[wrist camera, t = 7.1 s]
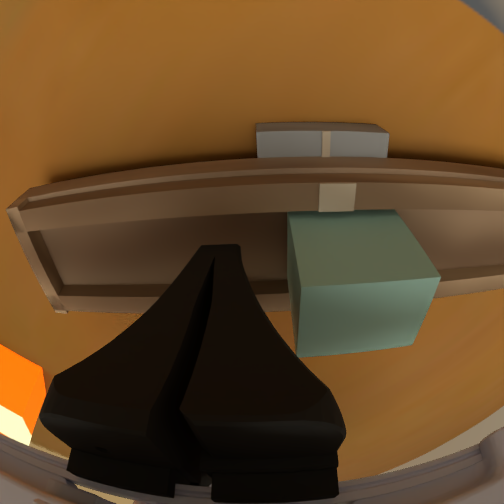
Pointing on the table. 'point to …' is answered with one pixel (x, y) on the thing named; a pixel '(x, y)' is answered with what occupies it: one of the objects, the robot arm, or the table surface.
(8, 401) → the orange juice
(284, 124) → the beam
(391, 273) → the block
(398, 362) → the table surface
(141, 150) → the table surface
